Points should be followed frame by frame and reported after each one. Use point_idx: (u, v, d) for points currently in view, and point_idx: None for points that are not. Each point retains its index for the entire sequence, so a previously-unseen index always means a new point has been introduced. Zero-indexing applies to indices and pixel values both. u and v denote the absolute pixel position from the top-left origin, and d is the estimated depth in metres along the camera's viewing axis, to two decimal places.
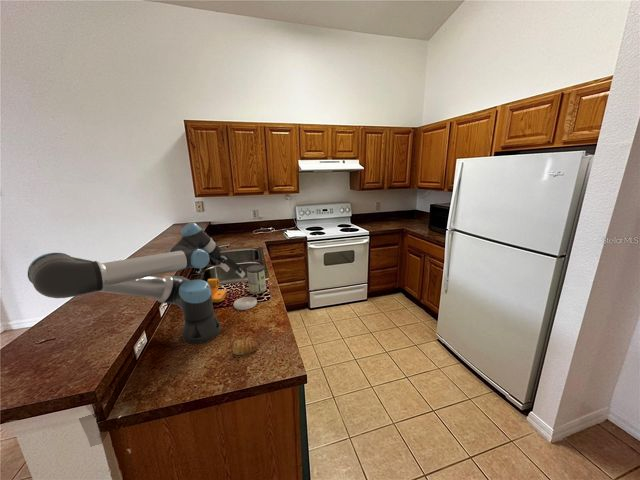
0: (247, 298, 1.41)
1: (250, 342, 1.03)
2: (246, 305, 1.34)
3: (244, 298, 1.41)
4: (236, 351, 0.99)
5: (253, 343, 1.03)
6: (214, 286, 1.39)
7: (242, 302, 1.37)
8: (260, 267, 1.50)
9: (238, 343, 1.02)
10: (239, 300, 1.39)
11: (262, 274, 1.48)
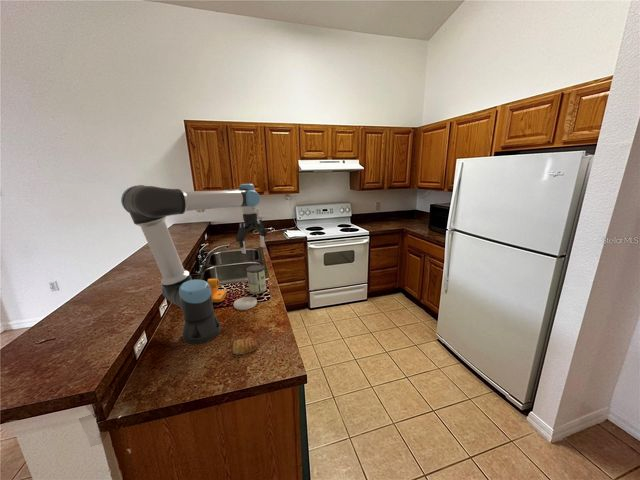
0: (247, 298, 1.41)
1: (250, 341, 1.03)
2: (246, 305, 1.34)
3: (244, 298, 1.41)
4: (236, 350, 1.00)
5: (253, 342, 1.03)
6: (214, 286, 1.39)
7: (242, 302, 1.37)
8: (260, 267, 1.50)
9: (237, 342, 1.02)
10: (239, 300, 1.39)
11: (262, 274, 1.48)
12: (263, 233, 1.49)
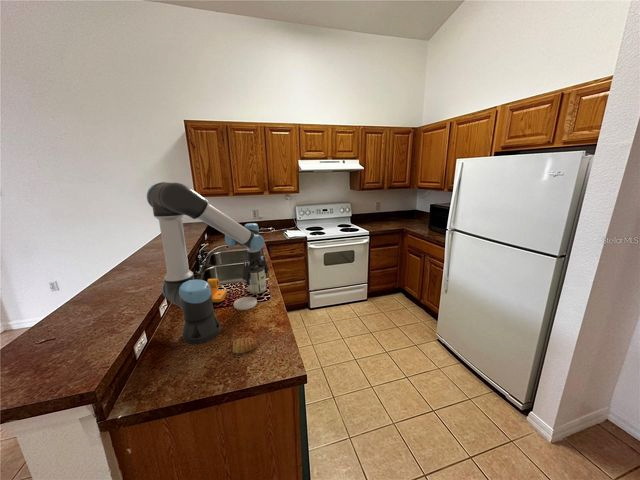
0: (247, 298, 1.41)
1: (249, 340, 1.04)
2: (246, 305, 1.34)
3: (244, 298, 1.41)
4: (235, 350, 1.00)
5: (252, 341, 1.04)
6: (214, 286, 1.39)
7: (242, 302, 1.37)
8: (260, 267, 1.50)
9: (237, 342, 1.03)
10: (239, 300, 1.39)
11: (262, 274, 1.48)
12: (265, 270, 1.55)
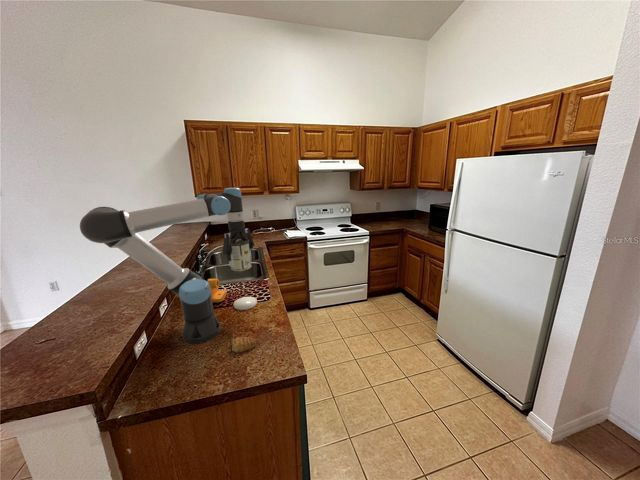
0: (247, 298, 1.41)
1: (248, 339, 1.05)
2: (246, 305, 1.34)
3: (244, 298, 1.41)
4: (235, 348, 1.01)
5: (251, 340, 1.05)
6: (214, 286, 1.39)
7: (242, 302, 1.37)
8: (244, 240, 1.29)
9: (236, 340, 1.03)
10: (239, 300, 1.39)
11: (246, 248, 1.26)
12: (250, 245, 1.33)
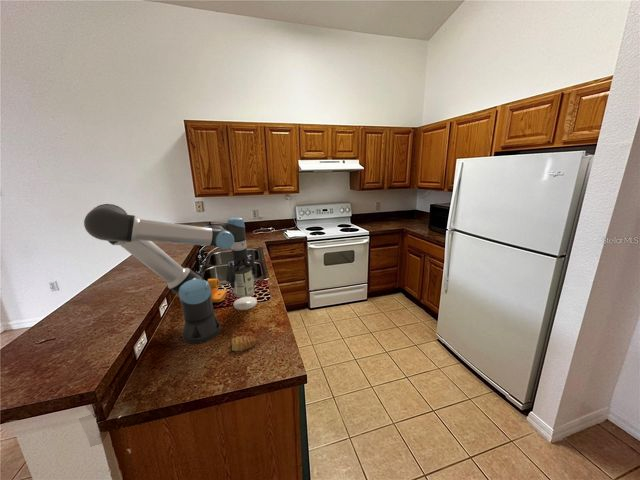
0: (247, 298, 1.41)
1: (248, 338, 1.05)
2: (246, 305, 1.34)
3: (244, 298, 1.41)
4: (235, 347, 1.01)
5: (251, 339, 1.05)
6: (214, 286, 1.39)
7: (242, 302, 1.37)
8: (247, 267, 1.32)
9: (236, 340, 1.04)
10: (239, 300, 1.39)
11: (249, 275, 1.30)
12: (252, 271, 1.37)
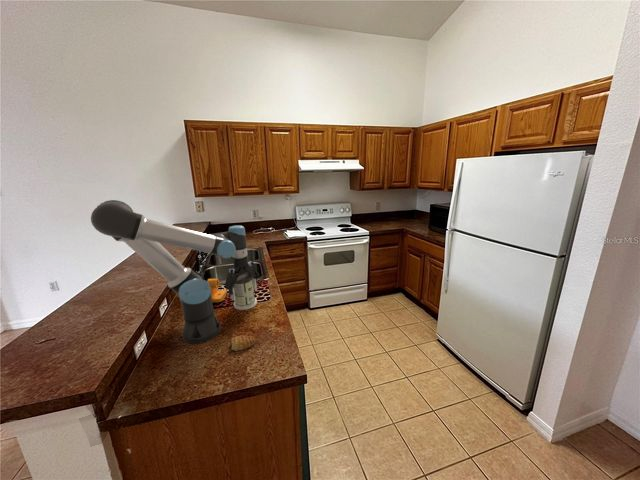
0: None
1: (247, 337, 1.06)
2: None
3: None
4: (235, 347, 1.02)
5: (250, 338, 1.06)
6: (214, 286, 1.39)
7: None
8: (247, 277, 1.34)
9: (235, 339, 1.04)
10: None
11: (249, 285, 1.32)
12: (255, 276, 1.39)
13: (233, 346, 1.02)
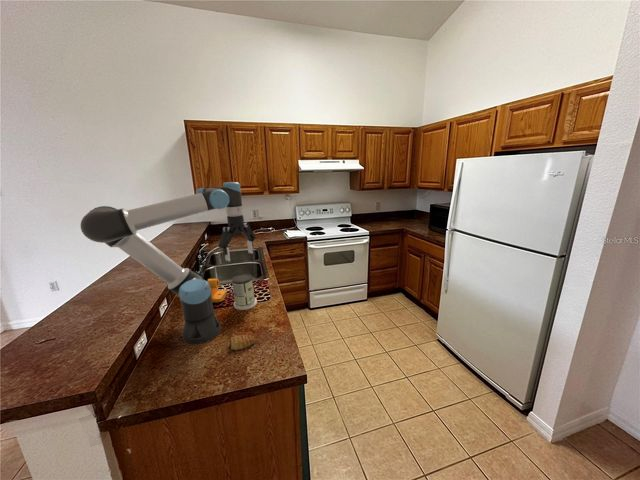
0: None
1: (247, 336, 1.06)
2: None
3: None
4: (234, 346, 1.02)
5: (250, 337, 1.06)
6: (214, 286, 1.39)
7: None
8: (247, 277, 1.34)
9: (235, 338, 1.05)
10: None
11: (249, 285, 1.32)
12: (251, 238, 1.33)
13: (233, 345, 1.02)
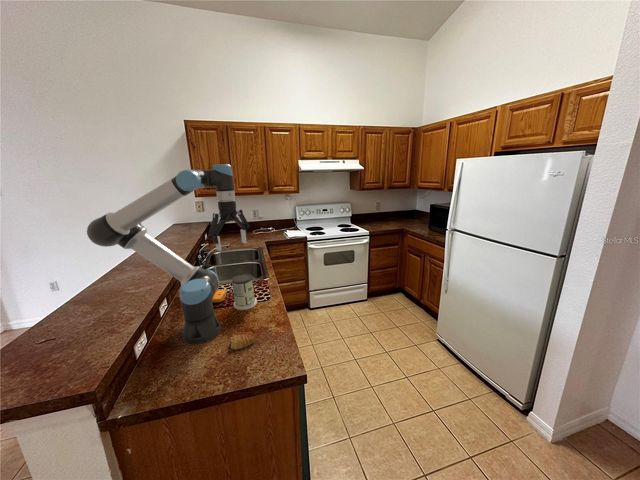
0: None
1: (246, 336, 1.07)
2: None
3: None
4: (234, 346, 1.02)
5: (249, 336, 1.07)
6: None
7: None
8: (247, 277, 1.34)
9: (234, 338, 1.05)
10: None
11: (249, 285, 1.32)
12: (244, 226, 1.22)
13: (232, 345, 1.02)
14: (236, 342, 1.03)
